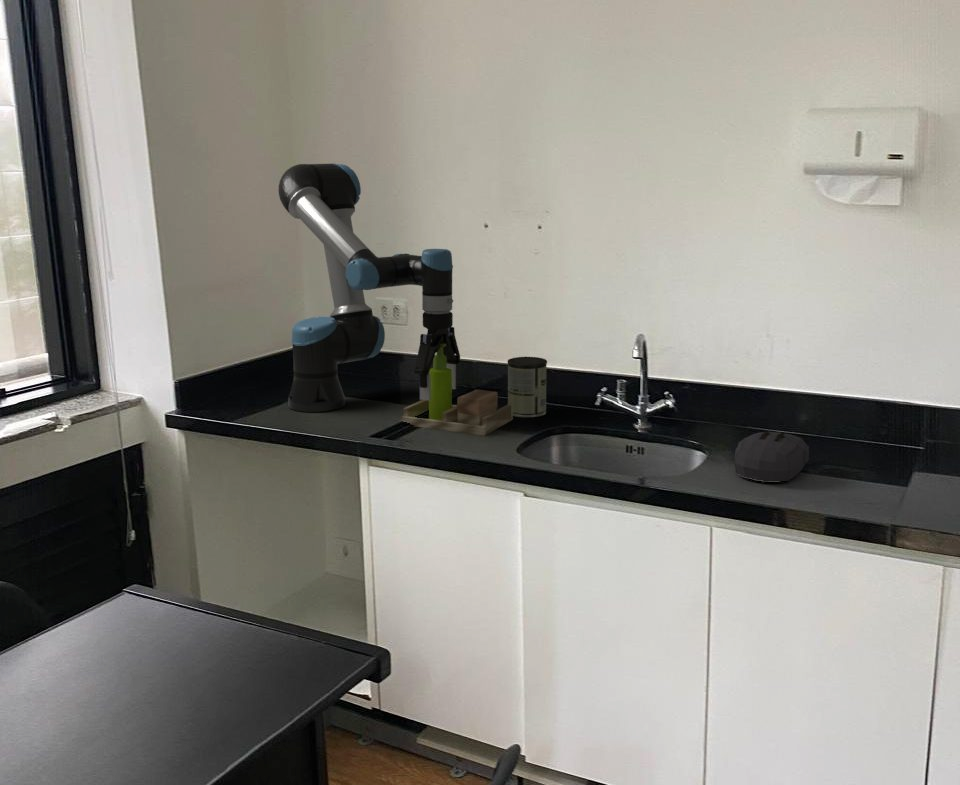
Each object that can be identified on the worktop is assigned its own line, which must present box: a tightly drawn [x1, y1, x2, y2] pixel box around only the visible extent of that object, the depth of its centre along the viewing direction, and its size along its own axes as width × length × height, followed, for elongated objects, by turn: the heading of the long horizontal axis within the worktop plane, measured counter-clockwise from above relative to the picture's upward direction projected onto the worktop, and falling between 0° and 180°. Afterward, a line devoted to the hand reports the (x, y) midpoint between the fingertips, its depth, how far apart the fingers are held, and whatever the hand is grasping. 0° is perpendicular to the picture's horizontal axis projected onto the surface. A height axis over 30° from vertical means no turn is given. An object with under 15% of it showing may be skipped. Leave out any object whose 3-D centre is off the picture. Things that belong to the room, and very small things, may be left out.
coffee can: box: [507, 356, 548, 418], centre depth 266 cm, size 10×10×14 cm
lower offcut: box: [458, 407, 498, 426], centre depth 255 cm, size 6×10×4 cm, turn 154°
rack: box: [400, 400, 514, 436], centre depth 258 cm, size 23×17×4 cm
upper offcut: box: [456, 389, 499, 416], centre depth 254 cm, size 6×10×4 cm, turn 152°
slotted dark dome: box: [733, 430, 810, 482], centre depth 217 cm, size 15×8×20 cm
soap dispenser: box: [428, 343, 453, 421], centre depth 258 cm, size 6×7×20 cm
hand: (438, 394), depth 259 cm, fingers open, 13 cm apart
